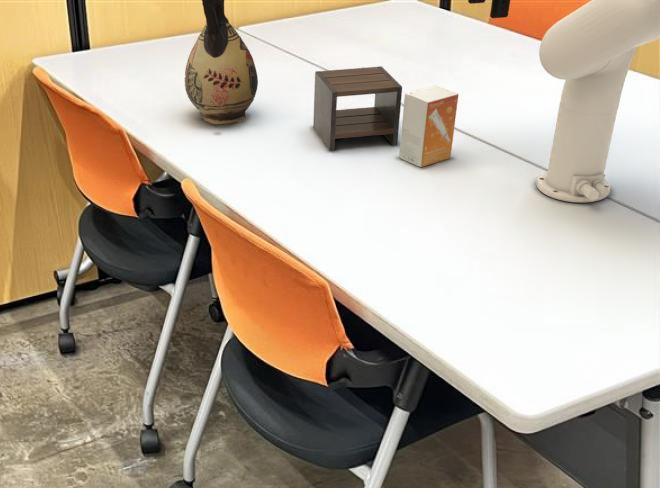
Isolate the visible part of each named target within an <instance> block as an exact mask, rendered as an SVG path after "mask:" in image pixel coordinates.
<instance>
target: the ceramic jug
mask: <svg viewBox="0 0 660 488" xmlns="http://www.w3.org/2000/svg"><path fill="white" fill-rule="evenodd" d="M201 4H202V7H203V9H202V10H203V13H204V16H205V25H204V27H203V28H202V30H201V32H200V33H199V35H198V36H197V39H196V41H195V43H194V45H193V47H192V48H191V51H190V53H189V55H188V58H187V61H186V65H185V70H184V88H185V92H186V95H187V97H188V99H189V101H190V102H191V104H192V105H193V106H194V107H195V108H196V109H197V111H199V113H200V115H201V117H202V119H203V121H205V122H207V123H209V124H213V125H215V126H217V125H223V124H224V125H225V124H232V123H238V122H242V121H243V120H244V119H245V118H246V117H247V114H246V111H247V110H248V109H249V107H250V106H251V105H252V103H253V101H254V100H255V97H256V95H257V91H258V85H259V78H258V72H257V68H256V65H255V60H254V58H253V55H252V53H251V51H250V50H249V48H248V46H247V45H246V43H245V42H244V41H243V39H242V37H241V35H239V33H238V31H237V30H236V29H235V28H234V27H233V25H232V24H231V23H230V21H229V18H227V16H226V14H225V0H201Z"/></svg>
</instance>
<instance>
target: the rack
mask: <svg viewBox="0 0 660 488" xmlns="http://www.w3.org/2000/svg"><path fill="white" fill-rule="evenodd" d="M314 72H315V73H314V93H313V94H314V96H313V123H312V127H313V130H314V131H315V133H316V135H318V137H319V138H320V139H321V141H322V143H323V144H324V145H325V146H326V148H327V150H328V151H329V152H335V148H336V147H335V146H336V139H349V138H357V137H369V136H371V137H372V136H381V135H383V136H384V137H385V139H386V140H387V141H388V142H389V143H390V144H391V145H392V146H398V144H399V143H398V141H399V132H400V131H399V129H400V119H401V107H402V95H403V86H402V85H401V83H399V81H397V80H396V79H395V78H394V77H393V76H392V75H391V74H390V73H389V72H388V70H386V69H385V68H384V67H383V66H369V67H357V68H344V69H331V70H317V71H314ZM365 95H374V105H373V106H368V107H357V108H343V109H337V108H338V107H337V105H338V98H340V97H353V96H365Z"/></svg>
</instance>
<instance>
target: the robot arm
mask: <svg viewBox="0 0 660 488" xmlns="http://www.w3.org/2000/svg"><path fill="white" fill-rule="evenodd" d="M467 2H468V4H471V5H472V4H484V3H485V2H486V0H467ZM510 5H511V0H491V6H490V12H489V17H490V18H491V19H502V18H508V17H509V11H510ZM658 40H660V0H590V1H588V2H587V3H585V4H583V5H582V6H580V7H579V8H577V9H575V10H574V11H572V12H571V13H569V14H567V15H566V16H565V17H563V18H561V19H560V20H557V22H555V23H554V24H552V25H551V26H550V27H549V28H548V29H547V31H546V32H545V33H544V35H543V37H542V39H541V42H540V45H539V53H538V55H539V62H540V64H541V66H542V68H543V69H544V71H545V72H546V73H547V74H549V75H550V76H551V77H552V78H555V79H557V80H563V81H564V83H563V87H562V89H561V96H560V101H559V104H558V105H559V106H558V111H557V117H556V122H555V126H554V127H555V128H554V133H553V139H552V144H551V150H550V156H549V162H548V168H547V171H544V172H542V173H541V174H539V175H538V176H537V178H536V187H537V189H538V190H539V191H540V192H541V193H542V194H543V195H545V196H548V197H550V198H552V199H556V200H559V201H564V202H569V203H593V202H598V201H601V200H604V199H605V198H607V197H609V195H610V191H611V184H610V182H609V181H608V180H607V179H606V174H605V171H606V166H607V161H608V156H609V151H610V148H611V142H612V138H613V133H614V130H615V129H614V128H615V123H616V119H617V115H618V110H619V106H620V103H621V102H620V101H621V96H622V93H623V89H624V84H625V82H626V78H627V76H628V72H629V71H630V68H631V64H632V62H633V60H634V57H635V55H636V51H637V48H638V47H640V46H643V45H646V44H649V43H653V42H655V41H658Z"/></svg>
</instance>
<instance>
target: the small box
mask: <svg viewBox="0 0 660 488" xmlns="http://www.w3.org/2000/svg"><path fill="white" fill-rule="evenodd" d="M458 102H459V93H457V92H455V91H452V90H449V89H447V88H444V87H441V86H439V85H437V84H435V85H431V86H428V87H424V88H419V89H416V90H414V91H410V92H406V93H404V101H403V110H402V111H403V112H402V122H401V133H400V141H399V142H400V144H399V153H398V158H399V159H400V160H403V161H406V163H407V162H408V163H410V164H411V165H414V166H417V167H418V168H423V167H427V166H429V165H432V164H436V163H438V162H441V161H445V160H449V159H451V156H452V149H453V140H454V133H455V125H456V116H457V110H458Z"/></svg>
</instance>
